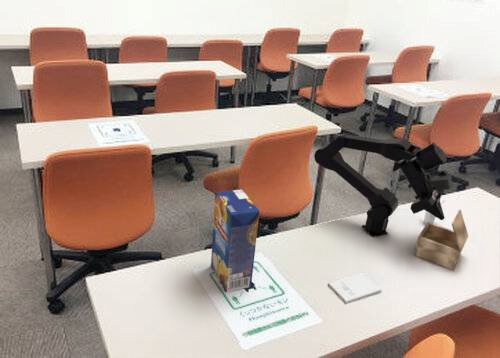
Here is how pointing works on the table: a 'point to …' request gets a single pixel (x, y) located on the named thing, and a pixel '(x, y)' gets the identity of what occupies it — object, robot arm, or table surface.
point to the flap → (460, 230)
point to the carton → (438, 246)
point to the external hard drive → (354, 287)
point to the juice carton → (234, 239)
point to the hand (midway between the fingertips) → (443, 219)
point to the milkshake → (429, 217)
